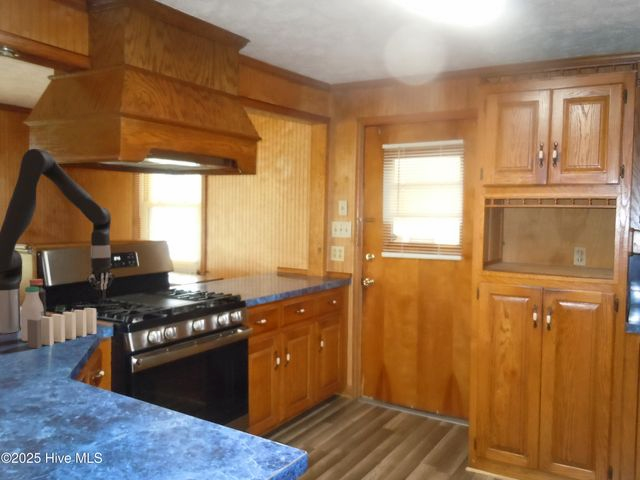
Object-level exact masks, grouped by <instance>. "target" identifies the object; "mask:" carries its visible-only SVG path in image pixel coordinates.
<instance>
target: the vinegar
mask: <svg viewBox="0 0 640 480" xmlns="http://www.w3.org/2000/svg"><path fill="white" fill-rule="evenodd" d="M28 280H29V287H39V293H38V295H39V298H40V300H41V302H42V304H43V308H44V316H45V317H47V315H46V314H47V313H46V311H47V310H46V309H47V307H46V290H45V289H44V288H43V285H44V283H43V281H44V279H43V278H32V279H28Z"/></svg>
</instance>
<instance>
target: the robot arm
mask: <svg viewBox="0 0 640 480" xmlns="http://www.w3.org/2000/svg"><path fill="white" fill-rule="evenodd" d="M42 175H43V176H45V177H46V178H47V179H48V180H50V181H51V182H52V183H54V185H55V186H56V187H57V188H58V190H59V191H60V192H61V193H62V195H63V196H64V197H65V198H66V199H67V200H68V201H69V202H70V203H71V204H72V205H73V206H75V207H76V209H78V210H79V211H80V212H81V213H82V214H83V215H84V216H85V217H86V218H87V219H88V221H90V223H92V232H91V235H90V244H91V245H90V268H91V269H92V270H91V275H90V276H88V277H87V278H86V279H87V281H88V283H89V284H90V286H91V287H92V288H93V289H95V290H97V297H98V299H99V300H103V299H105V298H106V294H107V293H106V290H107V288H110V286H111V284H112V283H113V280H114V279H115V277H116V274H113V273H112V272H111V269H110V268H111V267H112V261H111V260H112V256H111V255H112V253H111V252H112V251H111V243H110V242H111V240H110V239H111V238H110V231H111V223H112V217H111V212H110V211H109V209H107V208H105V207H102V206H101V205H100V204H98V203H97V202H96V201H95V200H94V199H93V196H91V195H90V194H89V193H88V192H87V191H86V190H85V189H84V188H83V187H82V186H80V185H79V184H78V183H77V182H76V181H75V180H74V179H72V178H71V176H70V175H68V174H67V172H65V170H63V168H62V167H61V166H60V165H59V164H58V162H57V161H56V160H55V159H54V157H53V156H52V155H51V154H50V152H48V151H46V150H43V149H39V148H32V149H31V148H30V149H28V150H27V151H25V152H24V154H23V156H22V159H21V162H20V168H19V172H18V177H17V180H16V184H15V186H14V189H13V192H12V195H11V198H10V200H9V203H8V206H7V208H6V212H5V215H4V216H5V217H4V219H3V222H2V224H1V227H0V334H10V333H11V334H12V333H17V332H21V289H20V288H21V283H22V280H23V257H22V255H21V253H20V251H18V250H17V249H15V248H16V246H17V243H18V241H19V239H20V238H21V236H23V234H24V233H25V231H26V230H27V228H28V227H29V226H30V225H31V222H32V220H33V217H34V214H35V211H36V207H37V187H38V184H39V181H40V178H41V176H42Z"/></svg>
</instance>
